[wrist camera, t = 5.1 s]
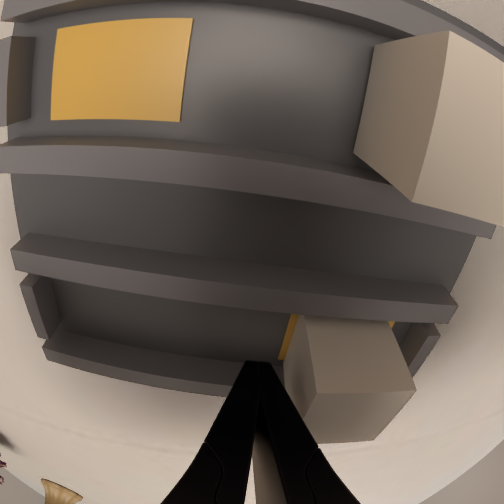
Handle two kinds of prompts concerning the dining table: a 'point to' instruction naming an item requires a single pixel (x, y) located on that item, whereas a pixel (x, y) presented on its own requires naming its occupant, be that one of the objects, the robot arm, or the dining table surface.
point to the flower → (3, 464)
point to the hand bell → (59, 494)
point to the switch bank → (213, 183)
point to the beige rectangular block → (437, 123)
